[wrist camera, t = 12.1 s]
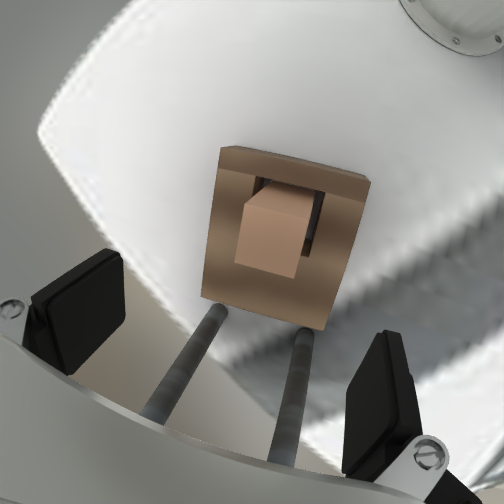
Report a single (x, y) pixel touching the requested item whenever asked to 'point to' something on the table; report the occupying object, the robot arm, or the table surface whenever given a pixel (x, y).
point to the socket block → (270, 276)
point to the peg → (275, 228)
